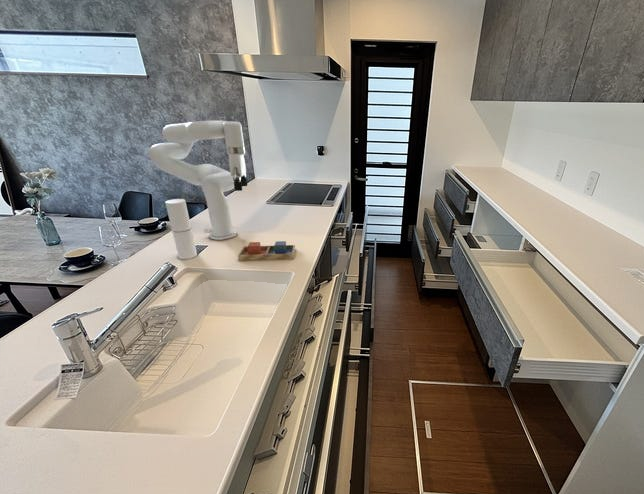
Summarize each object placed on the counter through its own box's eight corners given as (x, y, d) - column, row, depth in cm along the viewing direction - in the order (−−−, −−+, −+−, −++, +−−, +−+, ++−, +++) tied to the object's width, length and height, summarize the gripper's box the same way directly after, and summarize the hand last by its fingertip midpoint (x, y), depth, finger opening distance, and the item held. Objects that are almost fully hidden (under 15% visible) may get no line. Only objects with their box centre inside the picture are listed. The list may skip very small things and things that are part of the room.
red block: (248, 256, 134) (247, 246, 133) (251, 252, 139) (249, 242, 137) (259, 256, 135) (258, 245, 133) (261, 251, 139) (260, 241, 137)
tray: (238, 260, 132) (237, 255, 131) (244, 251, 141) (243, 246, 140) (293, 259, 135) (292, 253, 134) (295, 249, 144) (294, 244, 143)
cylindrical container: (178, 260, 131) (164, 204, 121) (179, 253, 137) (165, 199, 127) (197, 257, 134) (184, 202, 124) (197, 251, 140) (185, 198, 130)
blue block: (275, 255, 136) (274, 245, 134) (276, 251, 140) (275, 241, 138) (285, 255, 137) (284, 245, 135) (286, 251, 141) (285, 241, 139)
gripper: (232, 148, 145) (238, 184, 151) (221, 152, 129) (227, 192, 136) (249, 148, 146) (253, 184, 152) (239, 153, 130) (245, 192, 137)
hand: (241, 188), depth 144 cm, fingers open, 9 cm apart
